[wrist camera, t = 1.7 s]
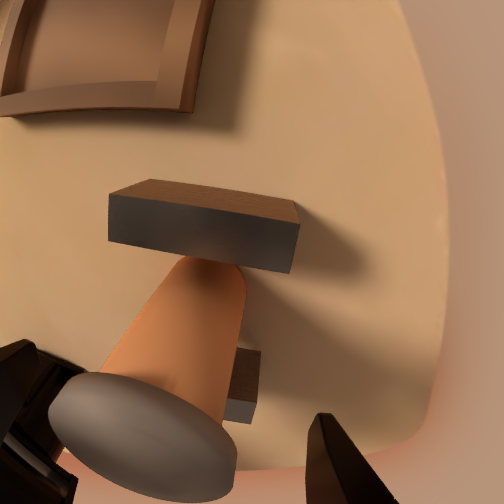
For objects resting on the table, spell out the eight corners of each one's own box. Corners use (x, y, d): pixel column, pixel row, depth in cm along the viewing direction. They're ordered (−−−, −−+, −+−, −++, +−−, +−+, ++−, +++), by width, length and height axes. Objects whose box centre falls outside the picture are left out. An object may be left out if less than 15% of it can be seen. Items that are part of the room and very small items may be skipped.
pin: (249, 338, 14) (223, 513, 6) (158, 320, 14) (75, 469, 6) (266, 251, 13) (247, 438, 4) (161, 232, 13) (24, 366, 4)
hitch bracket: (255, 373, 15) (250, 424, 12) (147, 351, 15) (123, 394, 12) (293, 200, 12) (300, 223, 9) (149, 178, 12) (109, 194, 9)
